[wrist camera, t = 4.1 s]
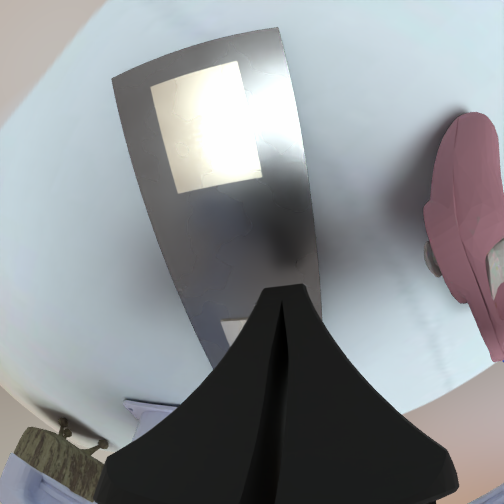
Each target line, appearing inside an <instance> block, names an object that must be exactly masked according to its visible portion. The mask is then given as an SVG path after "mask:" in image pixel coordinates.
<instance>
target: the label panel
mask: <svg viewBox="0 0 504 504" xmlns="http://www.w3.org/2000/svg"><path fill="white" fill-rule="evenodd" d="M112 84H113V89H114V94H115V98H116V103H117V107H118V112H119V116H120V120H121V124H122V128H123V132H124V136H125V140H126V143H127V147H128V151H129V154H130V158H131V161H132V165H133V168H134V171H135V175H136V178H137V181H138V185H139V188H140V191H141V194H142V197H143V200H144V203H145V206H146V209H147V212H148V215H149V218H150V221H151V224H152V227H153V229H154V232H155V235H156V238H157V241H158V243H159V246H160V249H161V251H162V254H163V256H164V259H165V262H166V264H167V267H168V269H169V272H170V274H171V277H172V279H173V282H174V284H175V287H176V289H177V291H178V294H179V296H180V298H181V301H182V303H183V305H184V308H185V310H186V312H187V315H188V317H189V319H190V321H191V324H192V326H193V328H194V330H195V332H196V334H197V337H198V339H199V341H200V343H201V345H202V347H203V349H204V351H205V353H206V355H207V357H208V359H209V362H210V364H211V366H212V368H213V369H214V368H215V367H216V366H217V364H218V363H219V362H220V361H221V359H222V358H223V357H224V355H225V354H226V352H227V351H228V349H229V348H230V346H231V345H232V344H233V342H234V341H235V339H236V338H237V336H238V335H239V333H240V331H241V330H242V328H243V326H244V324H245V323H246V321H247V319H248V318H249V316H250V314H251V312H252V310H253V308H254V306H255V304H256V302H257V300H258V298H259V296H260V294H261V291H262V290H263V289H264V288H268V287H277V286H285V285H293V284H301V283H303V284H304V285H305V286H306V288H307V292H308V294H309V297H310V299H311V301H312V303H313V305H314V307H315V309H316V311H317V313H318V315H319V317H320V318H321V320H322V309H321V293H320V279H319V267H318V256H317V246H316V236H315V227H314V218H313V210H312V202H311V194H310V186H309V179H308V172H307V166H306V159H305V153H304V147H303V141H302V135H301V129H300V124H299V118H298V113H297V108H296V103H295V98H294V93H293V88H292V83H291V78H290V74H289V69H288V65H287V61H286V56H285V52H284V48H283V44H282V40H281V36H280V32H279V28H278V27H276V28H269V29H263V30H257V31H251V32H246V33H241V34H236V35H232V36H228V37H223V38H219V39H215V40H212V41H208V42H204V43H201V44H197V45H194V46H191V47H188V48H185V49H182V50H179V51H176V52H173V53H170V54H167V55H165V56H162V57H159V58H157V59H154V60H152V61H149V62H147V63H144V64H142V65H140V66H137V67H135V68H133V69H131V70H128V71H126V72H124V73H122V74H120V75H118V76H116V77H114V78H112Z"/></svg>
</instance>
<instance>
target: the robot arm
mask: <svg viewBox="0 0 504 504" xmlns="http://www.w3.org/2000/svg"><path fill="white" fill-rule="evenodd" d="M123 405H124V406H125V407H126V408H127V409H128V410H129V411H130V412H131V413H132V414H133V415H134V416H135V417H136V418H137V419H138V420H139V423H138V426H137V429H136V432H135V434H134V437H133V440H132V442H131V443H130V444H128V445H127V446H125V447H123V448H122V449H120V450H119V451H117V452H115V453H113V454H112V455H110V456H108V457H107V459H106V461H105V464H104V466H103V469H102V472H101V475H100V478H99V481H98V484H97V487H96V490H95V493H94V496H93V500H94V502H93V503H92V502H90V501H88V500H86V499H85V498H83V497H81V496H79V495H77V494H75V493H73V492H72V491H70V489H69V488H67V487H66V486H64V485H62V484H61V483H59V482H57V481H56V480H54V479H53V478H51V477H49V476H47V475H46V474H44V473H41V472H40V471H38V470H37V469H35V468H33V467H32V466H30V465H29V464H28V463H26V462H25V461H24V460H22V459H21V458H19V457H18V456H16V455H15V454H14V453H10V456H9V458H8V460H7V463H6V465H5V468H4V470H3V473H2V475H1V478H0V502H1V503H2V504H436V500H438V499H441V498H443V497H445V496H447V495H449V494H452V493H454V492H456V491H457V489H458V488H459V483H458V477H457V473H456V470H455V467H454V464H453V462H452V460H451V457H450V455H449V453H448V451H447V450H446V449H445V448H444V447H442V446H441V445H440V444H438V443H437V442H435V441H434V440H433V439H431V438H430V437H429V436H427V435H426V434H425V433H423V432H422V431H421V430H419V429H418V428H417V427H416V426H414V425H413V424H412V423H411V422H409V421H408V420H407V419H406V418H405V417H404V416H403V415H401V414H400V413H399V412H398V411H397V410H396V409H395V408H394V407H393V406H392V405H391V404H389V403H388V402H387V401H386V400H385V399H384V398H383V397H382V396H381V395H380V394H379V393H378V392H377V391H376V390H375V389H374V388H373V387H372V386H371V385H370V384H369V383H368V381H367V380H366V379H365V378H364V377H363V376H362V375H361V374H360V373H359V371H358V370H357V369H356V368H355V367H354V365H353V364H352V363H351V362H350V361H349V359H348V358H347V357H346V355H345V354H344V353H343V351H342V350H341V349H340V347H339V346H338V345H337V343H336V342H335V340H334V339H333V337H332V336H331V334H330V333H329V331H328V330H327V328H326V327H325V325H324V323H323V322H322V320H321V318H320V317H319V315H318V313H317V311H316V309H315V307H314V305H313V303H312V301H311V299H310V297H309V294H308V292H307V288H306V286H305V285H304V284H303V283H301V284H293V285H285V286H277V287H268V288H264V289H263V290H262V291H261V294H260V296H259V298H258V300H257V302H256V304H255V306H254V308H253V310H252V312H251V314H250V316H249V318H248V319H247V321H246V323H245V324H244V326H243V328H242V330H241V331H240V333H239V335H238V336H237V338H236V339H235V341H234V342H233V344H232V345H231V346H230V348H229V349H228V351H227V352H226V354H225V355H224V357H223V358H222V359H221V361H220V362H219V363H218V364H217V366H216V367H215V368H214V369H213V371H212V372H211V373H210V374H209V375H208V377H207V378H206V379H205V380H204V381H203V382H202V383H201V385H200V386H199V387H198V388H197V389H196V390H195V391H194V392H193V393H192V394H191V395H190V396H189V397H188V398H187V399H186V400H185V401H184V402H183V403H182V404H181V405H180V406H179V407H173V406H164V405H156V404H148V403H141V402H135V401H129V400H124V402H123ZM468 504H504V483H503V484H501V485H500V486H498V487H497V488H495V489H493V490H492V491H490V492H488V493H487V494H485V495H483V496H481V497H479V498H477V499H476V500H474V501H472V502H470V503H468Z"/></svg>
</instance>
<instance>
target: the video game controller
mask: <svg viewBox="0 0 504 504" xmlns="http://www.w3.org/2000/svg"><path fill="white" fill-rule="evenodd" d="M423 216H424V222H425V228H426V232H427V235H428V238H429V242H428V241H427V242H426V243H425V246H424V258H425V262H426V265H427V267H428V268H429V270H430V271H431V272H432V273H433V274H434V275H435V276H436V277H441V276H443V278H444V281H445V283H446V285H447V286H448V288H449V290H450V292H451V294H452V296H453V297H454V298H455V299H456V300H457V301H458V302H459V303H463V304H464V303H468V304H469V307H470V309H471V311H472V314H473V316H474V318H475V321H476V323H477V326H478V328H479V331H480V333H481V336H482V338H483V340H484V342H485V344H486V346H487V348H488V350H489V352H490V356H491V359H492V361H493V362H497V361H503V362H504V193H503V186H502V180H501V172H500V157H499V142H498V136H497V133H496V130H495V127H494V125H493V123H492V122H491V121H490V119H489V118H488V117H487V116H486V115H484V114H481V113H478V112H470V113H466V114H463V115H461V116H458V117H457V118H456V119H455V120H454V122H453V123H452V124H451V125H450V127H449V128H448V130H447V131H446V133H445V135H444V136H443V138H442V141H441V143H440V146H439V148H438V152H437V156H436V160H435V163H434V169H433V176H432V182H431V194H430V200H429V201H428V202H427V203H426V204H425V206H424V207H423Z"/></svg>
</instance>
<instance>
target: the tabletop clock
mask: <svg viewBox="0 0 504 504" xmlns="http://www.w3.org/2000/svg"><path fill="white" fill-rule="evenodd" d="M58 422H59V424H60V426H61V427H60V431H59V435H57V434H56V433H54V432H51V431H47V430H43V429H39V428H35V427H28V428H27V430H26V431H25V432H24V433H23V435H22V437H21V439H20V441H19V443H18V445H17V447H16V449H15V451H14V454H15V455H16V456H18V457H19V458H21V459H22V460H24V461H25V462H26V463H28V464H29V465H30V466H32V467H33V468H35V469H37V470H38V471H40V472H41V473H44V474H46V475H47V476H49V477H51V478H53V479H54V480H56V481H57V482H59V483H61V484H62V485H64V486H66V487H67V488H69V489H70V491H72V492H73V493H75V494H77V495H79V496H81V497H83V498H85V499H86V500H88V501H90V502H92V503H93V502H94V500H93V496H94V493H95V490H96V487H97V484H98V481H99V478H100V475H101V472H102V469H103V466H104V464H103V463H101V462H100V461H98V460H97V459H95V458H93V457H92V456H91V455H92V454H93V453H94V452H95V451H97V450H98V449H100V448H102V449H107V448H108V442H107V441H106V440H99V442H98V445H97V446H95V447H92V448H90V449H79V448H77V447H76V446H75V445H73V444H72V443H70V442H68V440H66V438H67V437H71V436H72V432H71V431H70V430H69V429H64V427H67V426H68V422H67V420H66V419H65V418H60V419H59V421H58ZM63 434H64V436H63Z"/></svg>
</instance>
